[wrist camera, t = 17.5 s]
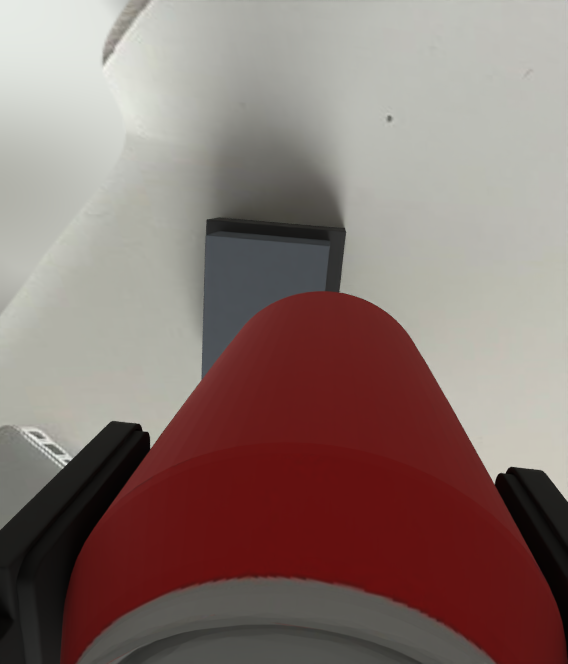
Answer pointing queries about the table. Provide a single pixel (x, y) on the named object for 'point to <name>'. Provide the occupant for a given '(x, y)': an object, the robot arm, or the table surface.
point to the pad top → (253, 281)
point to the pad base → (295, 231)
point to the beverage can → (311, 517)
